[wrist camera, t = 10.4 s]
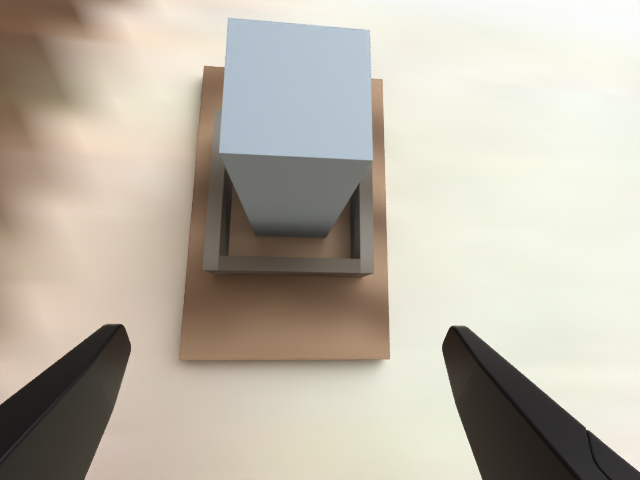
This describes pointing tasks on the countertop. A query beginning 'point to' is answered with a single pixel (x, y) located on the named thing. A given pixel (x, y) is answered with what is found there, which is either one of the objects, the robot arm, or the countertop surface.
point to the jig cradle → (283, 265)
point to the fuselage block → (295, 122)
